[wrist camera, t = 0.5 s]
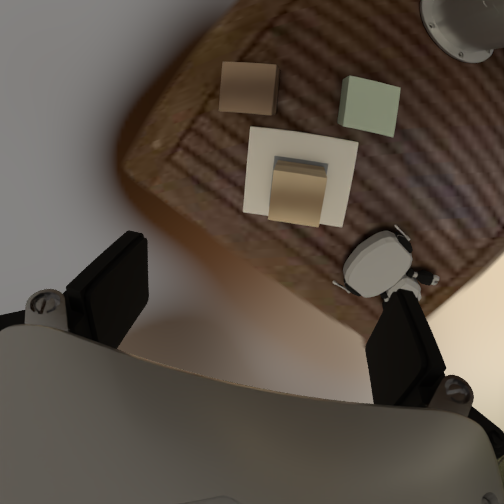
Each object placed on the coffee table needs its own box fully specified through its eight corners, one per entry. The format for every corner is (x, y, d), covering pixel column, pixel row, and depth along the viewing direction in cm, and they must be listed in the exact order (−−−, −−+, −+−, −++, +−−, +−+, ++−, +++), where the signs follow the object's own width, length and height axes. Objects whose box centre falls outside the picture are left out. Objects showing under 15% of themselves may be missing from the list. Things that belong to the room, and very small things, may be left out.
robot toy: (437, 268, 43) (385, 210, 40) (447, 284, 40) (395, 224, 36) (384, 312, 49) (326, 265, 45) (389, 330, 45) (329, 283, 42)
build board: (251, 125, 38) (249, 126, 36) (357, 141, 36) (358, 143, 35) (244, 209, 43) (242, 212, 42) (341, 224, 42) (342, 227, 41)
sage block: (342, 79, 33) (349, 75, 27) (386, 89, 32) (400, 87, 27) (337, 122, 36) (343, 126, 30) (380, 132, 35) (393, 137, 30)
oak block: (277, 160, 38) (273, 170, 33) (323, 167, 37) (327, 178, 32) (272, 203, 41) (267, 219, 36) (316, 209, 40) (318, 227, 35)
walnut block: (234, 67, 34) (222, 61, 29) (280, 70, 33) (276, 64, 28) (230, 109, 37) (218, 111, 32) (275, 113, 36) (271, 115, 31)
